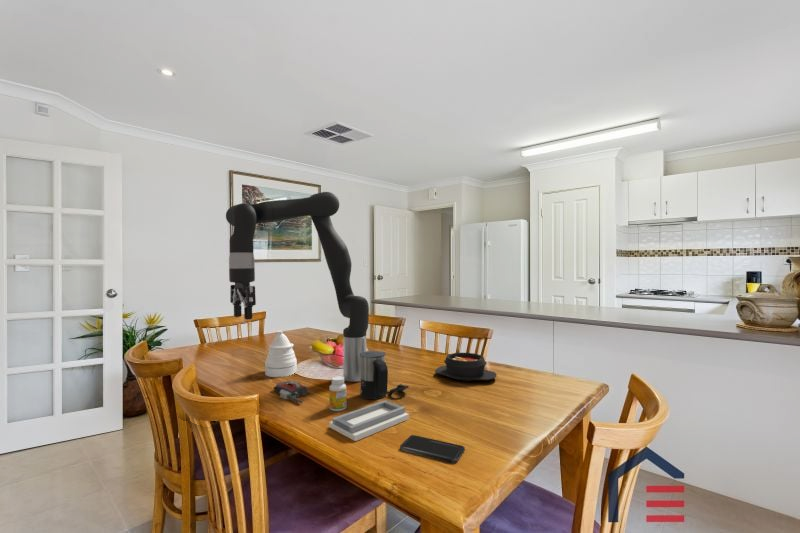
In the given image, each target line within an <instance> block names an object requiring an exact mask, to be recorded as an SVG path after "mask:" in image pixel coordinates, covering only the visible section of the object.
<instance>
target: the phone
mask: <svg viewBox="0 0 800 533" xmlns="http://www.w3.org/2000/svg"><path fill="white" fill-rule="evenodd" d="M399 446H400V447H399V449H400V451H401V450H402V452H405V451H406V452H405V453H409V454H413V453H414V455H417V454H418V456H421V457H424V458H429V457H430V458H429V459H433V458H434V459H433V460H437V461H441V462H445V463H448V464H456V463H458V462H459V460H460V459H461V458H462V456H463V455H464V453H465V452H466V447H465V446H464V445H460V444H456V443H452V442H448V441H443V440H438V439H433V438H430V437H426V436H421V435H417V434H411V435H409V437H408V438H406V439H405V440H404V441H403V442H402V443H401V444H400V445H399ZM464 451H465V452H464ZM462 454H463V455H462ZM460 457H461V458H460Z"/></svg>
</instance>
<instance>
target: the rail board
mask: <svg viewBox="0 0 800 533" xmlns="http://www.w3.org/2000/svg"><path fill="white" fill-rule="evenodd" d="M409 419H410V414H409V413H407V412H406V407H405V406H401V405H399V404H397V403H395V402H392V401H388V400H386V399H385V400H382V401H379V402H376V403H373V404H370V405H366V406H364V407H361V408H358V409H355V410H353V411H350V412H347V413H344V414H341V415H338V416H336V417H333V418H332V419H331V421H329V422H328V423H329V425H328V426H329V428H330V429H332V430H334V431H335V432H338V433H339V434H341V435H343V436H345V437H346V438H348V439H351V440H352V441H354V442H358V441H359V440H362V439H364V438H366V437H369V436H372V435H374V434H377V433H379V432H381V431H384V430H386V429H389V428H391V427H393V426H396V425H398V424H400V423H402V422H405V421H407V420H409Z"/></svg>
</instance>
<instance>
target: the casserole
mask: <svg viewBox="0 0 800 533" xmlns="http://www.w3.org/2000/svg"><path fill="white" fill-rule="evenodd" d="M443 362H444V363H445V365H442V366H439V367H437V368H436V369H434V372H435V373H436V374H438V375H442V376H445V377H448V378H451V379H453V380H457V381H463V382H472V381H489V380H492V379H496V377H497V375H498V374H497V373H496V372H495V371H491V370H487V369H485V367H486V365H487V361H486V359H485V357H484V356H483V355H481V354H478V353H475V352H474V353H473V352H453V353H449V354H447V355H446V357H445V360H444V361H443Z"/></svg>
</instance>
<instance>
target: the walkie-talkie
mask: <svg viewBox="0 0 800 533" xmlns="http://www.w3.org/2000/svg"><path fill="white" fill-rule="evenodd" d="M273 390H275V392H276V393H279V396H280V398H281V397H282V398H281V399H283V398H284V399H283V400H285V399H287V400H291V401H294V402H298V403H301V404H302V403H303V400H302V399H300V398H298V397H297V396H299V397H302V396H305V395H308V387H307V386H305V385H303V384H301V383H300V382H298V381H296V380H294V381H292V380H286V381H281V382H278V383H276V384H275V386H273ZM301 395H302V396H301Z"/></svg>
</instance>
